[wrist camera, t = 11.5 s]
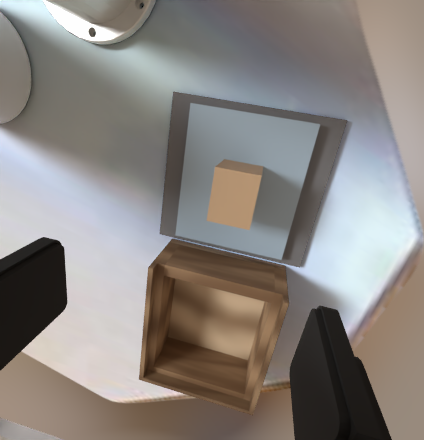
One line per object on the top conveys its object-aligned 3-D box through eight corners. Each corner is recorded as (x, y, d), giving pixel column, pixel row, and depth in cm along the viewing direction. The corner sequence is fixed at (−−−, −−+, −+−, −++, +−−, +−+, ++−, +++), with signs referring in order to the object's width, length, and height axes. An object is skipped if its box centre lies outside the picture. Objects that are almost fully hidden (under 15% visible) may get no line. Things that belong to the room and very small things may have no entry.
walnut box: (172, 238, 34) (148, 267, 27) (285, 265, 32) (289, 303, 25) (161, 336, 40) (139, 379, 33) (255, 363, 38) (252, 415, 31)
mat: (175, 92, 28) (173, 91, 27) (345, 120, 26) (347, 120, 25) (161, 232, 34) (159, 234, 33) (299, 265, 32) (299, 267, 31)
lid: (193, 103, 27) (173, 99, 22) (318, 124, 26) (331, 125, 20) (178, 231, 33) (159, 254, 27) (281, 255, 31) (283, 285, 26)
